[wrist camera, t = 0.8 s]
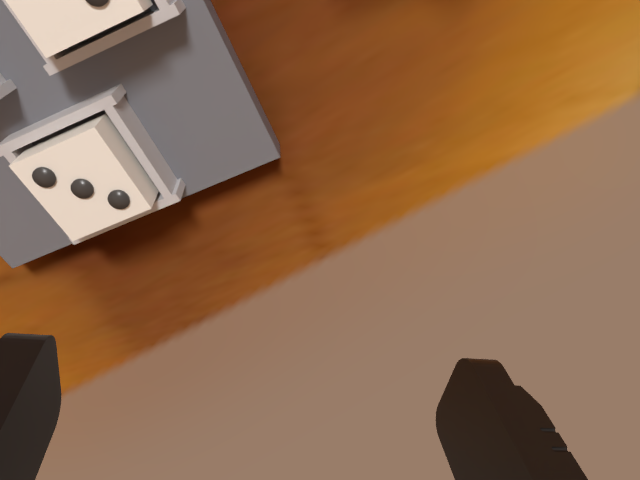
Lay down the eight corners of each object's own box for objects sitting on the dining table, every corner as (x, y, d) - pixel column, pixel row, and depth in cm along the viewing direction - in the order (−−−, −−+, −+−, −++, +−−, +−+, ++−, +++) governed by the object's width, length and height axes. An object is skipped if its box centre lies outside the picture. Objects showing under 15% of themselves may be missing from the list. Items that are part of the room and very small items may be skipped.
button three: (105, 113, 26) (93, 128, 24) (158, 191, 28) (151, 210, 26) (24, 150, 26) (7, 167, 24) (83, 222, 29) (71, 242, 27)
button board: (120, -187, 22) (93, -205, 18) (279, 144, 31) (280, 172, 28) (-212, -5, 24) (-288, 8, 21) (25, 250, 34) (-2, 287, 30)
